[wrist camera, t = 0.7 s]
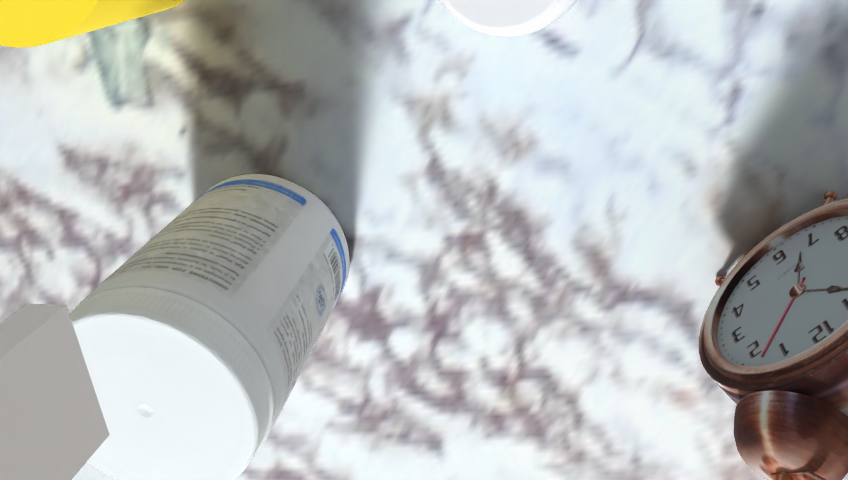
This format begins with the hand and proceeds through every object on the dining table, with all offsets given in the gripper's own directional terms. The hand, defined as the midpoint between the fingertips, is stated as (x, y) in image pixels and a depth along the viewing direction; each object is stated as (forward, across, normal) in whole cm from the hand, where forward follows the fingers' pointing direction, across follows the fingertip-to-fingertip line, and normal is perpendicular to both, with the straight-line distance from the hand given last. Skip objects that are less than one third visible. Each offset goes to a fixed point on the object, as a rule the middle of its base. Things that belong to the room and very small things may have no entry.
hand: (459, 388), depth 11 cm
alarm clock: (+26, +12, -11) cm, 31 cm away
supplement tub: (+26, -15, -10) cm, 32 cm away
